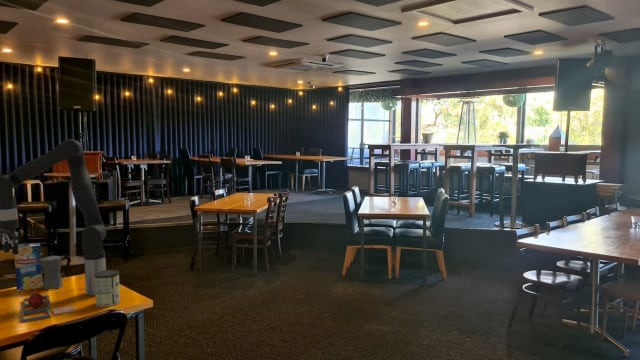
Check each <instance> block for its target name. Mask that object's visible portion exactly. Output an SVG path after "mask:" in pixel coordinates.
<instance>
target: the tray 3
mask: <svg viewBox="0 0 640 360" xmlns="http://www.w3.org/2000/svg"><path fill="white" fill-rule="evenodd" d="M45 308H46V307H45ZM39 309H40V308H39ZM33 310H34V309H33ZM27 311H28V310H27ZM50 311H51V310H49V308H46V309H40V310H34V311H28V312H23V311H22V312H21V321H22V323H27V322H29V323H30V322H34V321H39V320H44V319H50V318H51V316H52V315H51V312H50ZM45 312H46V313H47V314H45V315H38V316H33V317H27V318H25V316H30V315H34V314H40V313H45Z"/></svg>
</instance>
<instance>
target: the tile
mask: <svg viewBox="0 0 640 360" xmlns="http://www.w3.org/2000/svg"><path fill="white" fill-rule="evenodd" d="M51 309H52V310H51V311H52V315H53V317H55V316H59V315H64V314H65V315H66V314H71V313H75V312H76V309H75V308H74V306H73V305H69V306H68V305H67V306H63V307H56V308H51Z"/></svg>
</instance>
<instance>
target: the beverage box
mask: <svg viewBox="0 0 640 360" xmlns="http://www.w3.org/2000/svg"><path fill="white" fill-rule="evenodd" d="M41 251H42V250H41V242H37V243H36V242H35V243H26V244H25V243H24V244H20V245H19V246H18V254H15V255H14V266H15V281H16V282H15V283H16V287H15V288H16V291H17V290H26V289H34V290H36V289H35V288H42V286H43V275H42V273H43V272H42V271H43V270H42V266H41V265H40V264H39V263H38V262H37V260H39V259H42V253H41Z"/></svg>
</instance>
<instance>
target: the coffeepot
mask: <svg viewBox="0 0 640 360" xmlns="http://www.w3.org/2000/svg"><path fill="white" fill-rule="evenodd" d="M48 254H49V255H48V256H45V257H41V259H39V260H37V262H38V263H39V264H40V265H41V269H42V271H43V272H42V273H43V278H42V288H43V289H42V290H44V289H47V290H46V291H49V290H48V289H54V290H58V289H60V287H61V288H62V287H63V286H64V283H63V281H62V275H61V273H60V271H61V267H62V261H64V260H67V261H66V264H65V269H63V270H62V272H64V273H65V272H68V270H69V267H70V265H71V261H72V258H71V257H70V256H69V255H53V254H54V252H52V251H51V252H49V253H48ZM57 288H58V289H57Z"/></svg>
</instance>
